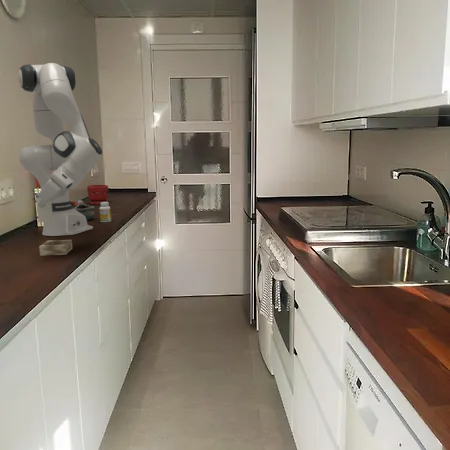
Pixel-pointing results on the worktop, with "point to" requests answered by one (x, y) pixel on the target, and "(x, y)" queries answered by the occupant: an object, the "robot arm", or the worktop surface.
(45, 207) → the peg
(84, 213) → the mug
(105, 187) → the plant pot
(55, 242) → the holder
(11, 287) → the worktop surface
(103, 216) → the supplement bottle
